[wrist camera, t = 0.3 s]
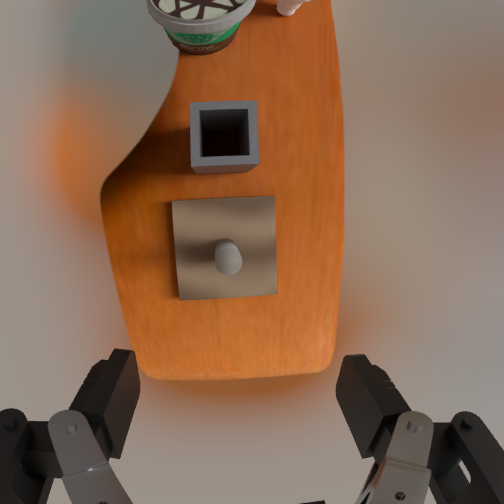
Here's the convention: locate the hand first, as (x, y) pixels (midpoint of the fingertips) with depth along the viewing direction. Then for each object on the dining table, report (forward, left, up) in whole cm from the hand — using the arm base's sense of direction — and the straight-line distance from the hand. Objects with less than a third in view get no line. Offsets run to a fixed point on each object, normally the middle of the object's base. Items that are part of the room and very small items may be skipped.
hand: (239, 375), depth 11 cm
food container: (-27, -1, -28) cm, 39 cm away
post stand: (0, +1, -27) cm, 27 cm away
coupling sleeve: (-12, +1, -27) cm, 30 cm away
